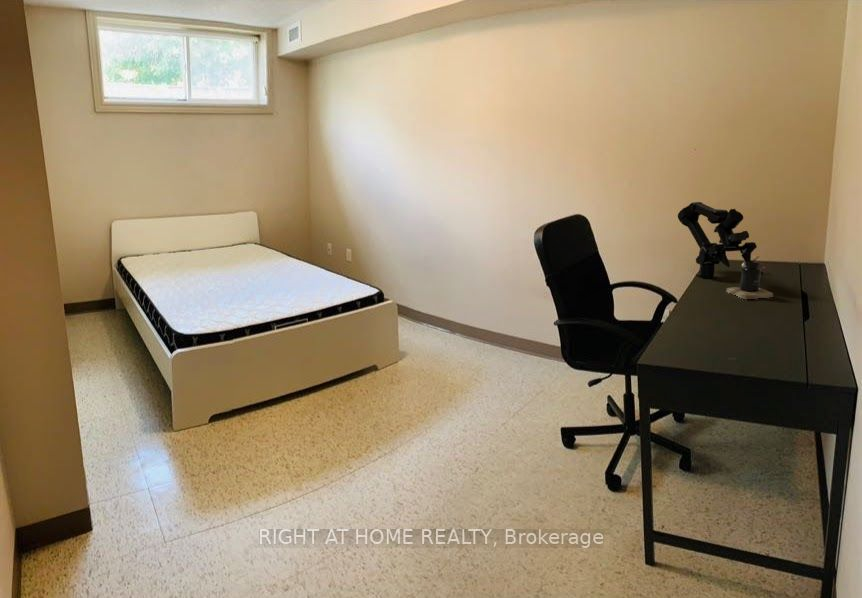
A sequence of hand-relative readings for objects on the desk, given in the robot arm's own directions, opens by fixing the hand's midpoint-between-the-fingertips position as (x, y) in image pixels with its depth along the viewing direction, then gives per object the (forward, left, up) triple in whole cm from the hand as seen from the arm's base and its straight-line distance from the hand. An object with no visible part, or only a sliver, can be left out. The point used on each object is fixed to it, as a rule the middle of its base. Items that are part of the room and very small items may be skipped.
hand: (739, 266), depth 249 cm
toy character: (-24, +25, -11) cm, 36 cm away
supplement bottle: (+8, 0, -8) cm, 12 cm away
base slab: (+8, 0, -10) cm, 13 cm away
